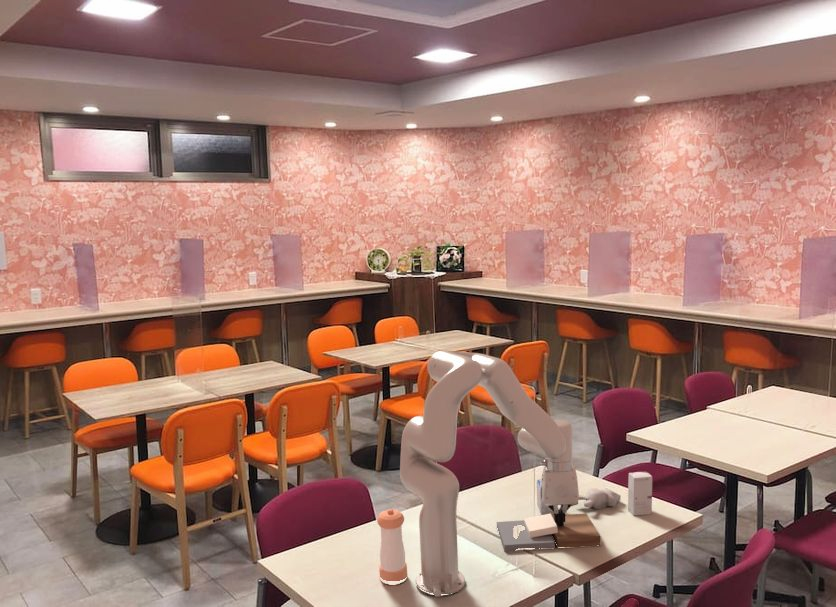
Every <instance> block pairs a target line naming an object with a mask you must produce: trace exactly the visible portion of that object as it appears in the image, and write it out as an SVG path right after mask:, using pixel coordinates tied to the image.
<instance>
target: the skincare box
mask: <svg viewBox="0 0 836 607" xmlns="http://www.w3.org/2000/svg"><path fill="white" fill-rule="evenodd" d="M627 484H628V485H627V489H628V492H627V509H628V511H629V513H630V514H631V515H632V516H644V515H646V516H647V515H652V512H653V511H652V510H653V509H652V508H653V507H652V506H653V476H652V475H651V474H650V473H649V472H647V471H636V472H629V473H628V483H627Z"/></svg>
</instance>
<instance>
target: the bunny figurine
mask: <svg viewBox="0 0 836 607" xmlns="http://www.w3.org/2000/svg"><path fill="white" fill-rule="evenodd" d="M585 494H586V495H579V500H578V501H582V500H583V506H584V507H585V508H594V510H598V509H601V510H602V509H605V508H606V507H616V506H617V504H618V503H619V502H620V501H621V496H622V495H620V494H618V493H617V492H615V491H613V490H611V489H609V488H604V489H598V488H590V489H588V490H587V492H586V493H585Z"/></svg>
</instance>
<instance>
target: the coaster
mask: <svg viewBox="0 0 836 607" xmlns="http://www.w3.org/2000/svg"><path fill="white" fill-rule="evenodd" d="M552 516H553V515H551V513H550V514H545V515H541V514H540V515H535V516H529V517H524V518H523V520H524V523H525V527H526V529H527V531H528V534H529V536H530V538H533V537H538V536H543V535H548V534H553V533H558V530H557V525H556V523H555V521H554V519H553V517H552Z"/></svg>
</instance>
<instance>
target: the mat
mask: <svg viewBox="0 0 836 607" xmlns="http://www.w3.org/2000/svg"><path fill="white" fill-rule="evenodd" d="M517 525H522V526H524V527H525V523H524V519H522V520H510V521H509V520H507V521H497V522H496V529H497V528H498V530H497V532H498V531H499V534H498V536H499V535H500V537H499V538H500V539H501V540H500V542H501V545H502V548H503V552H504V553H507V552H508V553H510V552H516V551H515V550H516V549H518V548H535V549H539V548H540V549H541V548H554V549H555V541H554V539H553V537H552V535H551V534H548V535H543V536H538V537H533V538H530V536H529V534H528V531H527V529H526V527H525V530H523V531H520V533H519V536H518V538H517V539H515V538H514V537H513V528H514V526H517Z"/></svg>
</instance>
